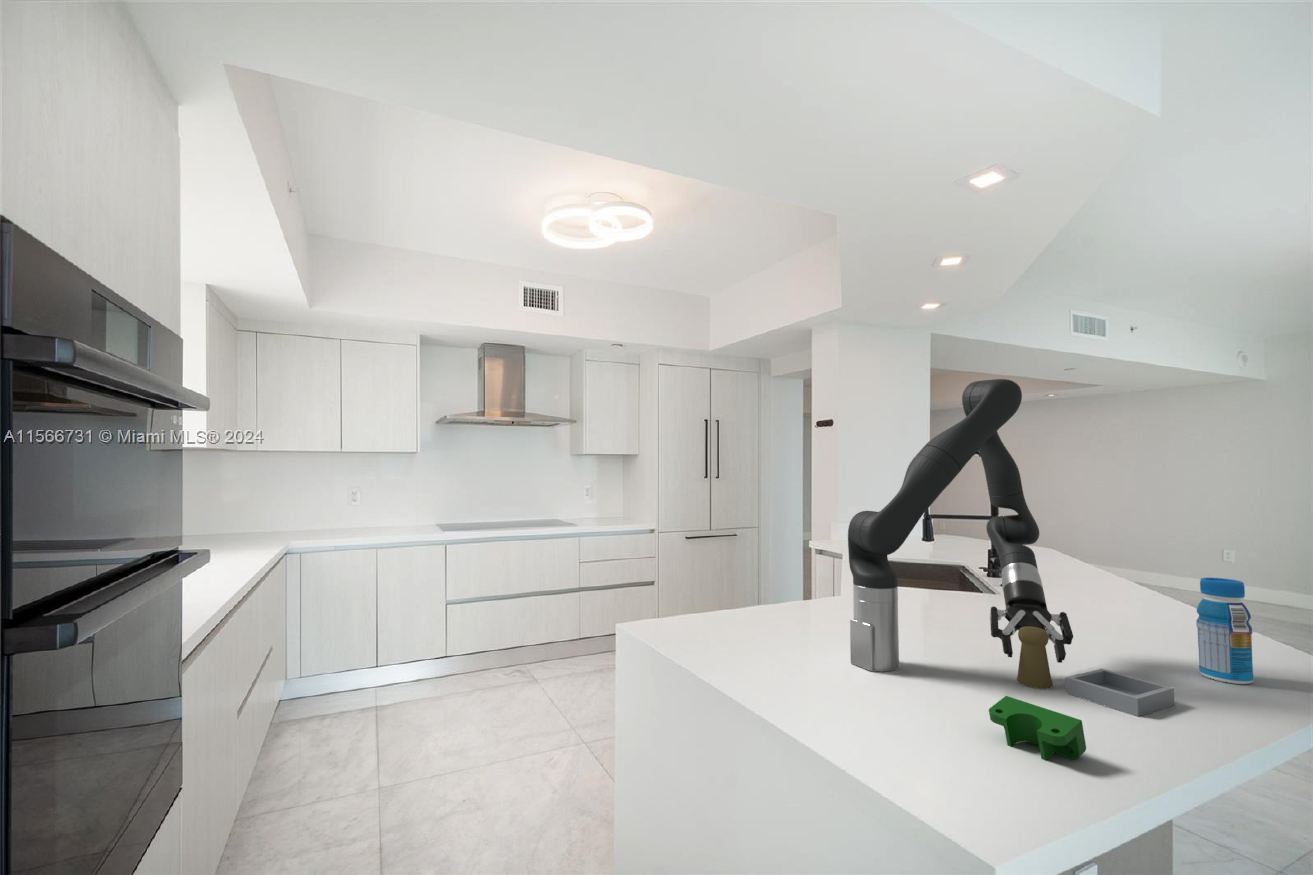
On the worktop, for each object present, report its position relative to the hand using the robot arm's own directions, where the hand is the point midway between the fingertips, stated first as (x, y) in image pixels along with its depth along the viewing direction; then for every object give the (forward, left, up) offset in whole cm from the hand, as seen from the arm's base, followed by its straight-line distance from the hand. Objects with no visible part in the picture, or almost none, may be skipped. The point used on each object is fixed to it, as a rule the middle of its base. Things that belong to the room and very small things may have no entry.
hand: (1035, 658), depth 120 cm
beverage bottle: (+40, -14, -6) cm, 43 cm away
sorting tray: (+7, -11, -5) cm, 14 cm away
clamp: (-28, -17, -6) cm, 33 cm away
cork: (+1, +1, -6) cm, 6 cm away
